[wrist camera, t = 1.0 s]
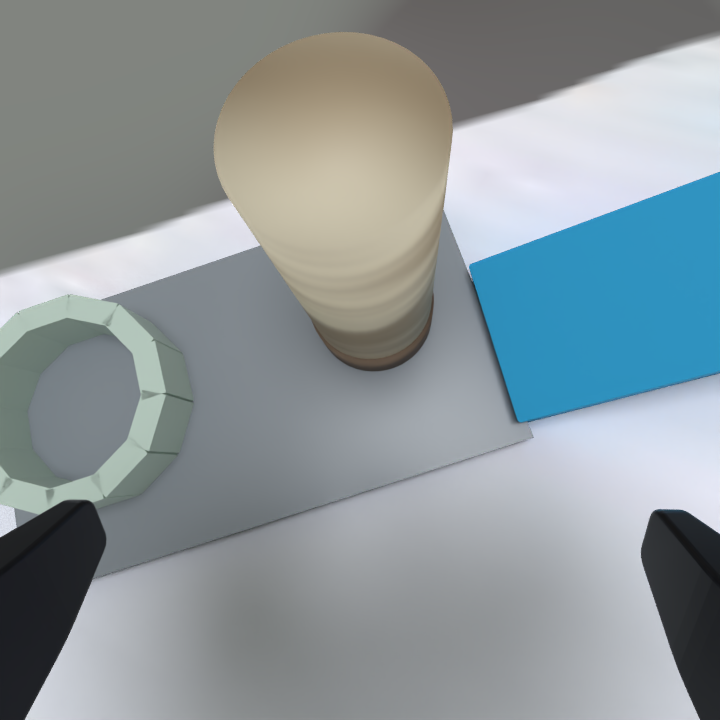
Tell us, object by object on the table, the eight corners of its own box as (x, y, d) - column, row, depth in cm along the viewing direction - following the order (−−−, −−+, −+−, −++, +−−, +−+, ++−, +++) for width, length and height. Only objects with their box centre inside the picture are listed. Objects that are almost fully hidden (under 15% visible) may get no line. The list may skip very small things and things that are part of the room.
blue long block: (526, 425, 25) (970, 312, 20) (518, 423, 19) (1173, 254, 13) (488, 304, 27) (889, 168, 21) (468, 264, 21) (1034, 55, 15)
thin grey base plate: (433, 200, 24) (437, 152, 20) (526, 439, 21) (551, 433, 17) (12, 343, 24) (-58, 321, 21) (47, 592, 21) (-27, 618, 18)
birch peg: (421, 380, 20) (434, 267, 9) (307, 360, 21) (180, 230, 10) (440, 271, 21) (475, 37, 10) (331, 255, 22) (242, 19, 10)
